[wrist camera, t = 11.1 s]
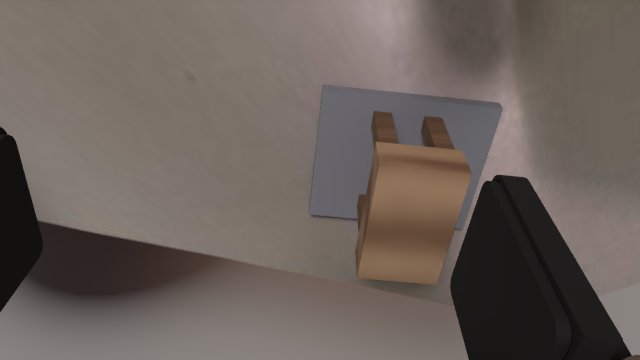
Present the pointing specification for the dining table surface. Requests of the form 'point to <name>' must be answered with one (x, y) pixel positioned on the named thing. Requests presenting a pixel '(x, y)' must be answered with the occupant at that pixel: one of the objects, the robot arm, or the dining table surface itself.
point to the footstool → (409, 203)
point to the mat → (408, 114)
